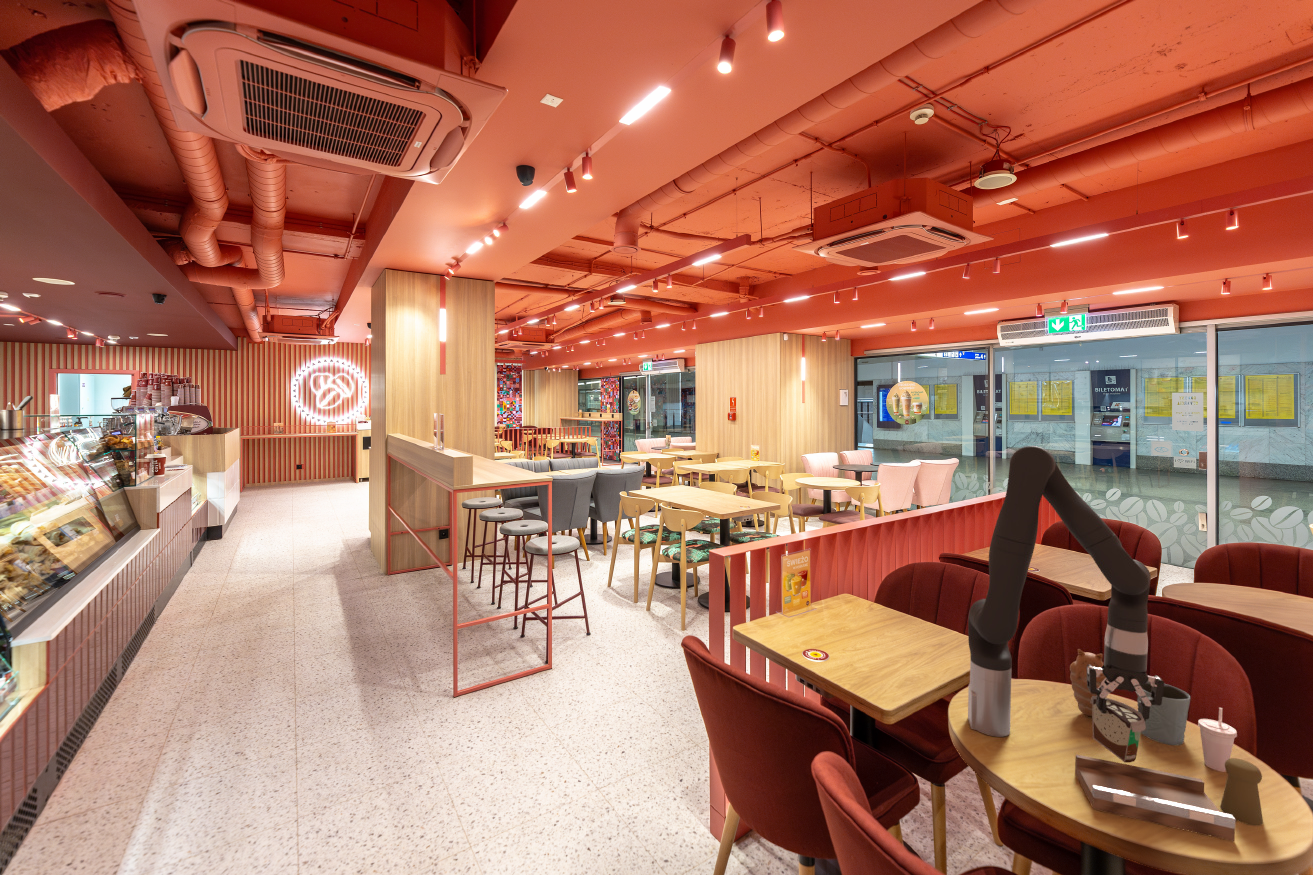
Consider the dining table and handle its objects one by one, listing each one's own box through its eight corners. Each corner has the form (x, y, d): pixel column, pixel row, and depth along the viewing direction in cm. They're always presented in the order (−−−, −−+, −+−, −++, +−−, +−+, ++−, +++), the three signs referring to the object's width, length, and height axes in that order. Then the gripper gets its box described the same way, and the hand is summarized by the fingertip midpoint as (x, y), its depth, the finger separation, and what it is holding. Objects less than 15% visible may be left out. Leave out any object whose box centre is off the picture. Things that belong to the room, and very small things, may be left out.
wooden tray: (1094, 810, 113) (1094, 789, 113) (1075, 773, 125) (1075, 754, 125) (1235, 842, 105) (1236, 819, 104) (1200, 799, 116) (1201, 779, 116)
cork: (1211, 804, 115) (1213, 754, 114) (1237, 803, 115) (1239, 752, 115) (1245, 826, 109) (1247, 772, 108) (1272, 824, 109) (1274, 771, 109)
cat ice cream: (1068, 716, 148) (1070, 651, 148) (1068, 704, 155) (1070, 642, 154) (1110, 727, 143) (1112, 660, 142) (1108, 714, 149) (1110, 650, 149)
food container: (1158, 767, 121) (1161, 724, 121) (1130, 766, 121) (1133, 722, 121) (1113, 735, 133) (1116, 695, 133) (1088, 734, 134) (1090, 694, 133)
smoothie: (1243, 776, 123) (1246, 716, 123) (1210, 773, 125) (1212, 713, 124) (1220, 759, 130) (1222, 702, 129) (1189, 756, 131) (1191, 699, 130)
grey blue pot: (1130, 733, 141) (1131, 687, 140) (1140, 719, 147) (1141, 676, 146) (1184, 752, 133) (1186, 704, 132) (1192, 737, 139) (1194, 691, 138)
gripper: (1092, 646, 126) (1089, 716, 127) (1173, 658, 120) (1169, 731, 121) (1082, 634, 133) (1079, 701, 133) (1158, 645, 127) (1154, 714, 128)
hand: (1122, 715), depth 127 cm, fingers closed on food container, 7 cm apart
